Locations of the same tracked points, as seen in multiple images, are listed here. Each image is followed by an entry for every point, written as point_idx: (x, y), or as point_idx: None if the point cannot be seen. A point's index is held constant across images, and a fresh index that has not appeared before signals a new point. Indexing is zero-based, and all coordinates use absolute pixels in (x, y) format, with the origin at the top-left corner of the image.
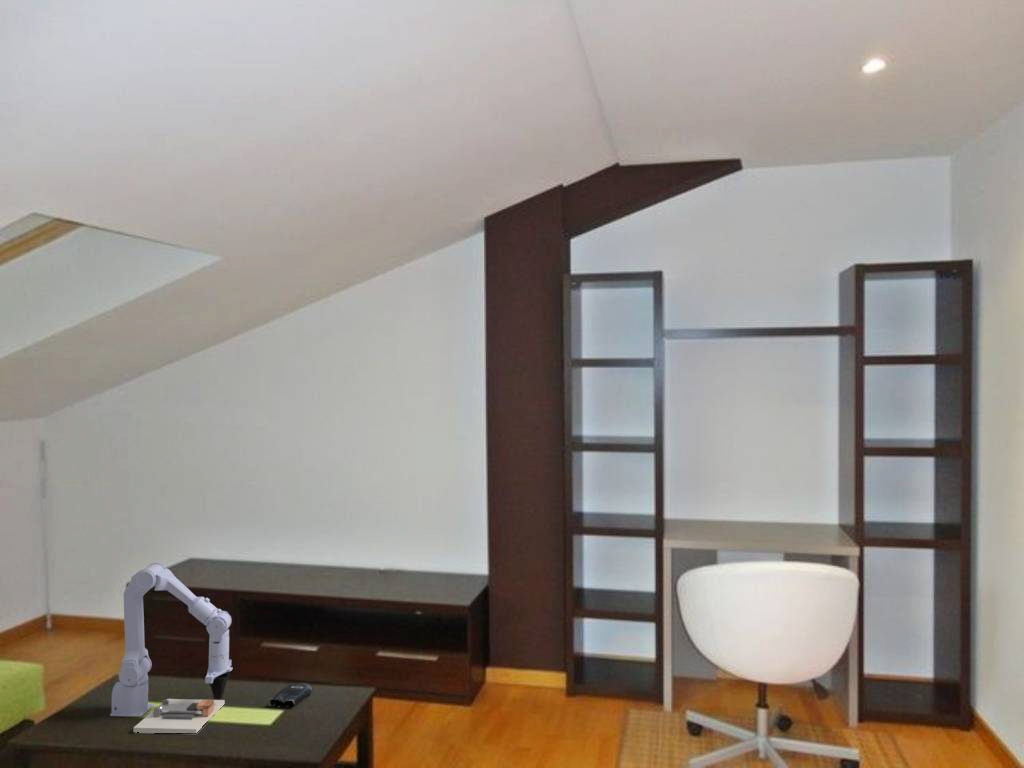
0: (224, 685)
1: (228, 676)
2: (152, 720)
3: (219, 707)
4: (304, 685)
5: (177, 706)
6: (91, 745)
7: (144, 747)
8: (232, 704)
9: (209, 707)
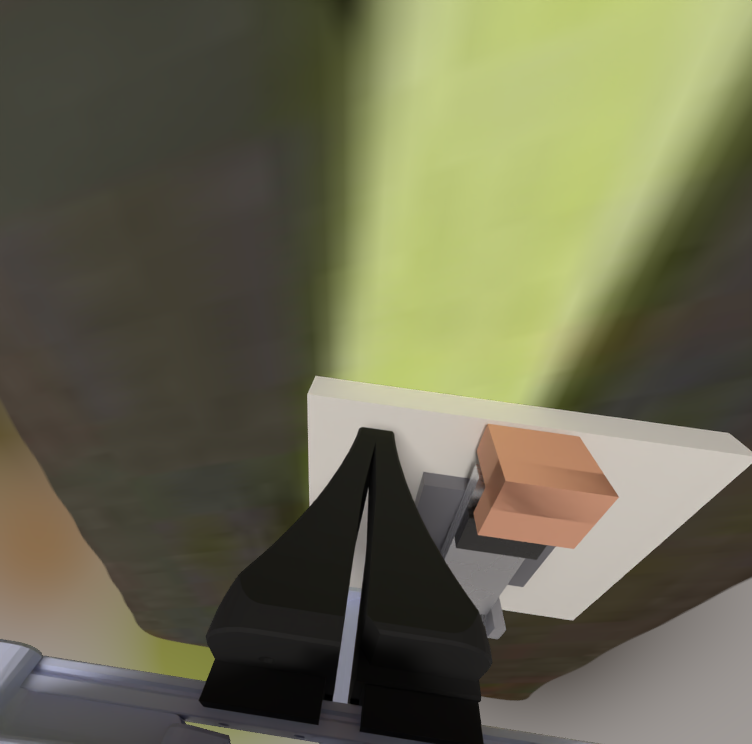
0: (355, 502)
1: (289, 579)
2: (523, 592)
3: (394, 397)
4: None
5: (465, 578)
6: (613, 644)
7: (737, 566)
8: (302, 333)
9: (584, 474)
